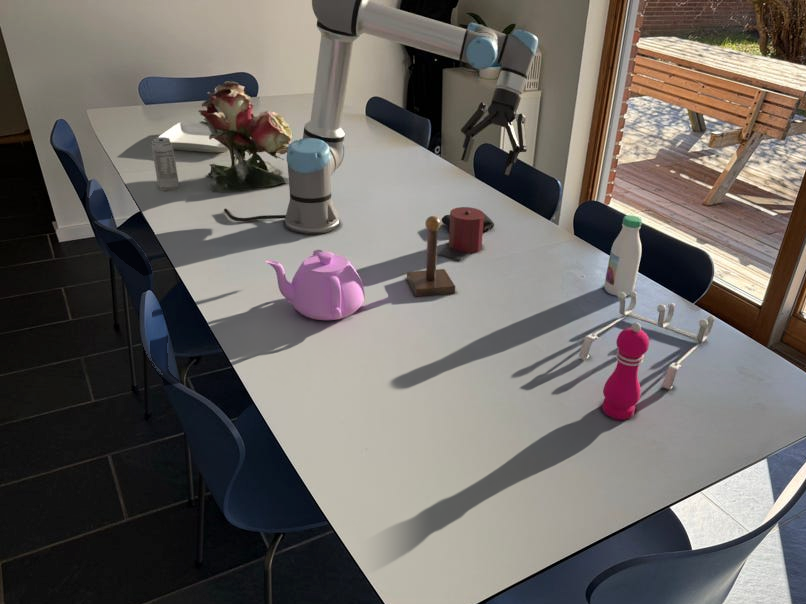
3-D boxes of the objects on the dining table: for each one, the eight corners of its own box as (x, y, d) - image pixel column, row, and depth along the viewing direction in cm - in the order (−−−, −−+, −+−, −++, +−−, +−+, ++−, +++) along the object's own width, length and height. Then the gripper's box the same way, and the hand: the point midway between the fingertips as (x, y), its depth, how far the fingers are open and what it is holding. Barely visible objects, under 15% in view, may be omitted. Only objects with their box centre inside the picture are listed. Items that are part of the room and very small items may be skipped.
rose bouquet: (303, 182, 239) (297, 88, 223) (215, 195, 224) (201, 95, 208) (275, 160, 256) (267, 71, 240) (190, 170, 242) (177, 76, 226)
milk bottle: (635, 287, 191) (650, 216, 180) (630, 299, 185) (646, 226, 174) (606, 281, 193) (620, 210, 182) (601, 293, 187) (614, 220, 176)
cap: (458, 237, 210) (460, 202, 205) (487, 245, 207) (490, 209, 201) (433, 253, 200) (435, 217, 194) (464, 262, 196) (466, 225, 190)
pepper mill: (596, 399, 146) (613, 313, 135) (630, 399, 147) (650, 314, 136) (604, 421, 140) (622, 332, 129) (640, 421, 141) (661, 333, 130)
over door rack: (712, 338, 171) (722, 302, 166) (671, 394, 149) (682, 355, 144) (627, 310, 180) (635, 275, 174) (578, 359, 158) (584, 321, 153)
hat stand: (415, 296, 178) (417, 225, 168) (406, 278, 186) (408, 209, 176) (454, 293, 181) (459, 223, 171) (444, 275, 188) (447, 208, 178)
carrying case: (451, 236, 210) (497, 232, 215) (452, 227, 209) (498, 223, 214) (439, 223, 218) (484, 219, 224) (439, 213, 217) (484, 210, 222)
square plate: (230, 157, 256) (229, 146, 253) (152, 151, 255) (151, 140, 253) (252, 136, 278) (251, 126, 276) (180, 130, 278) (179, 120, 275)
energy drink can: (179, 183, 230) (171, 136, 222) (179, 190, 226) (171, 142, 217) (158, 184, 228) (150, 136, 220) (158, 191, 224) (149, 142, 216)
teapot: (262, 293, 173) (257, 240, 166) (351, 282, 181) (350, 231, 174) (279, 339, 157) (274, 282, 149) (376, 325, 165) (376, 270, 157)
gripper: (553, 105, 196) (528, 182, 201) (476, 84, 205) (453, 158, 210) (544, 98, 189) (518, 178, 194) (464, 77, 199) (441, 153, 203)
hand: (484, 167), depth 202 cm, fingers open, 13 cm apart
